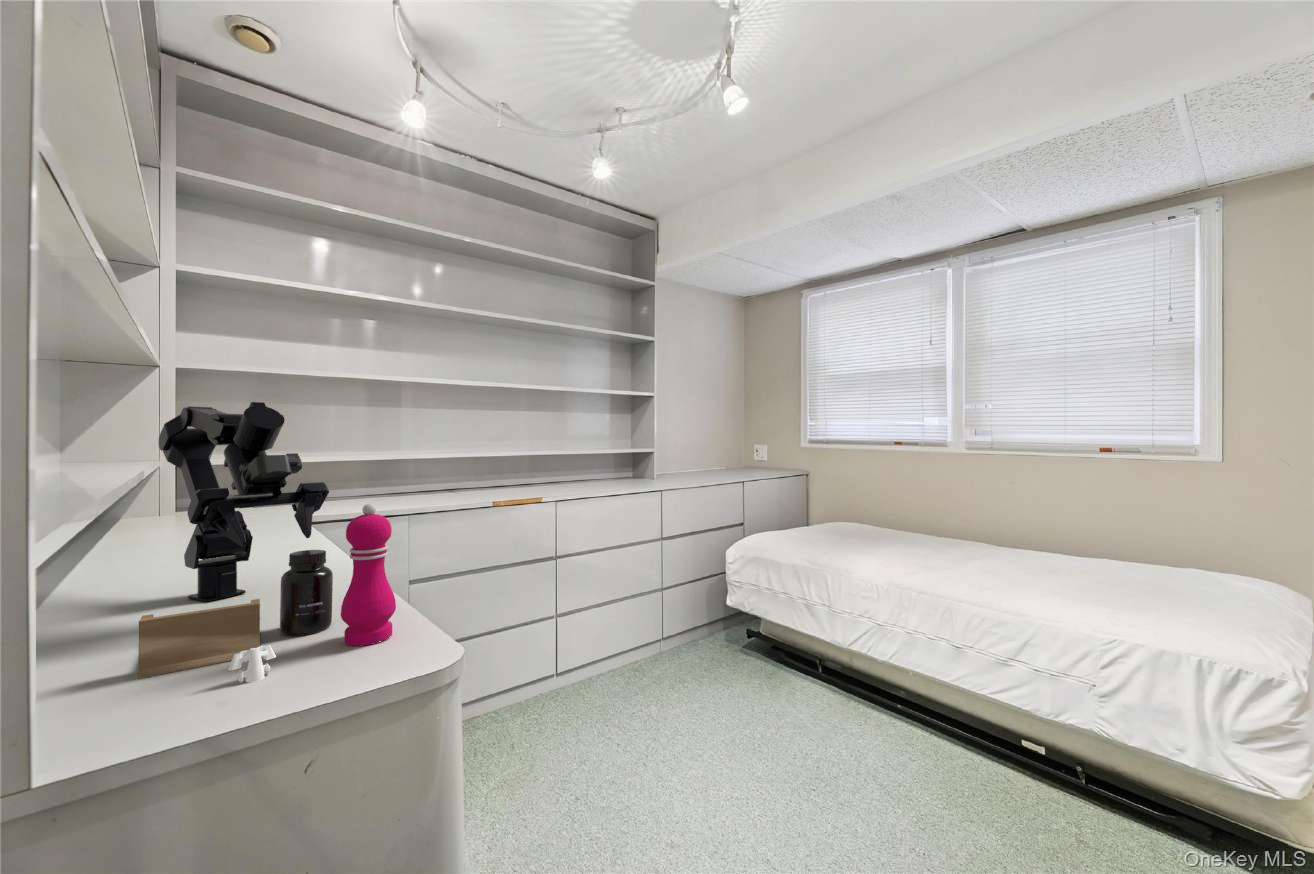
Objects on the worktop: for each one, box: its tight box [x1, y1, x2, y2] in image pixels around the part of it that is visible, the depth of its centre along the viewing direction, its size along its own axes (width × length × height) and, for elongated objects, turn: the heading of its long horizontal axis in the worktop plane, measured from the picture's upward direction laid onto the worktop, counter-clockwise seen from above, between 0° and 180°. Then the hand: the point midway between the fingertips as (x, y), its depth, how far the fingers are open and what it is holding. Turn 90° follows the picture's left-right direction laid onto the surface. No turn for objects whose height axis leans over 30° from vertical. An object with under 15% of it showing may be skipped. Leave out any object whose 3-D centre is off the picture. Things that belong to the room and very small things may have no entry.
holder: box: [137, 598, 261, 679], centre depth 74 cm, size 11×12×7 cm
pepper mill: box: [340, 503, 397, 647], centre depth 79 cm, size 7×7×20 cm
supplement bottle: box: [279, 549, 334, 637], centre depth 83 cm, size 7×7×12 cm
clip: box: [227, 644, 277, 684], centre depth 66 cm, size 5×2×4 cm, turn 146°
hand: (278, 540), depth 87 cm, fingers open, 9 cm apart
